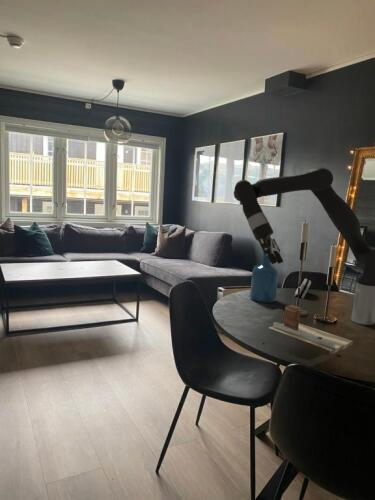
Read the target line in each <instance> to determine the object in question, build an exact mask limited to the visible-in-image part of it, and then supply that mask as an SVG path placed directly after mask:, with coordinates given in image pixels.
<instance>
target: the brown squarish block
mask: <svg viewBox="0 0 375 500" xmlns="http://www.w3.org/2000/svg"><path fill="white" fill-rule="evenodd" d="M301 308H302V307H301V306H298V305H297V306H296V305H293V304H290V305H285V308H284V310H285V311H284V320H283V323H284V325H286V326H289V327H292V328H295V329H297V330H298V327H299V323H300V317H301V316H300V315H301V311H302V310H301Z"/></svg>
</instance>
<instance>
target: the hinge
mask: <svg viewBox="0 0 375 500" xmlns="http://www.w3.org/2000/svg"><path fill="white" fill-rule="evenodd" d="M311 284H312V281H311V280H310V279H308V278H304V280H303V281H302V283H301V285H300V286H299V287H297V288H296V290H295V293H294V295H293V297H294V296H295V297H296V296H297V294H298V288H300V296H299V297H301V299H304V298H305V297H306V294H307V292H308V290H309V289H310V286H311Z"/></svg>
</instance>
